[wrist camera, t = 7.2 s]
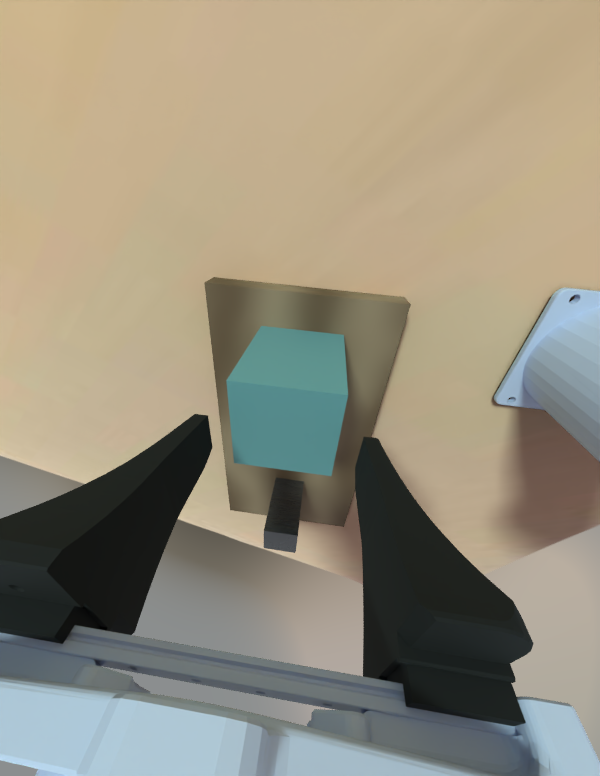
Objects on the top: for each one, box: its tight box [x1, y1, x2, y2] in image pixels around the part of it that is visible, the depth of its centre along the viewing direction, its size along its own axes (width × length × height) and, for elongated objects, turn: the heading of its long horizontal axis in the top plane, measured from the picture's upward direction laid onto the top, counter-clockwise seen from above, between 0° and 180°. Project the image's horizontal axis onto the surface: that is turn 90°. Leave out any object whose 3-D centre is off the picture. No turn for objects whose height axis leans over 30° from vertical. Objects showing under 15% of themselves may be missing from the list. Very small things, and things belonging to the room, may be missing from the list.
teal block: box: [226, 326, 348, 476], centre depth 16 cm, size 5×5×7 cm
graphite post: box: [264, 478, 304, 553], centre depth 24 cm, size 3×3×5 cm
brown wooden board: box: [205, 277, 410, 527], centre depth 23 cm, size 12×23×2 cm, turn 175°
